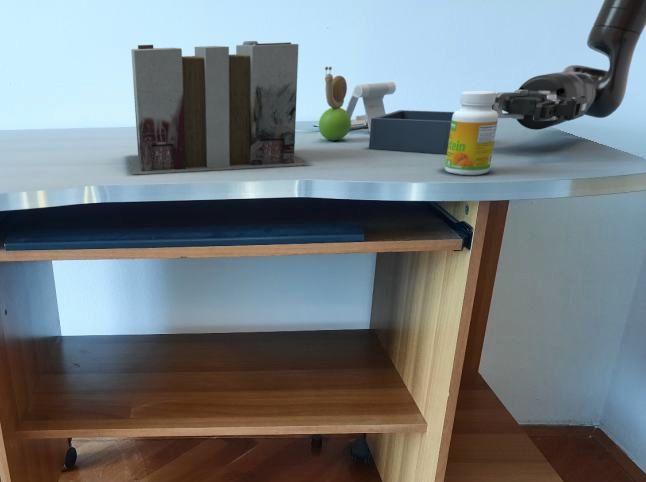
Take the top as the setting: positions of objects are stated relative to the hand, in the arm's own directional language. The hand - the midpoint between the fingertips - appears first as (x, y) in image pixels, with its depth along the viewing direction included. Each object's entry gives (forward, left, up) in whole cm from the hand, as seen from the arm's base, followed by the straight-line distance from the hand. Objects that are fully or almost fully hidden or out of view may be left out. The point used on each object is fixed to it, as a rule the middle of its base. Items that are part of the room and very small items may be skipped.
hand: (504, 111), depth 86 cm
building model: (+37, +16, -7) cm, 41 cm away
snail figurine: (+29, -8, -7) cm, 31 cm away
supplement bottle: (+2, +9, -7) cm, 11 cm away
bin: (+14, -10, -7) cm, 18 cm away
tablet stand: (+29, -23, -7) cm, 37 cm away
